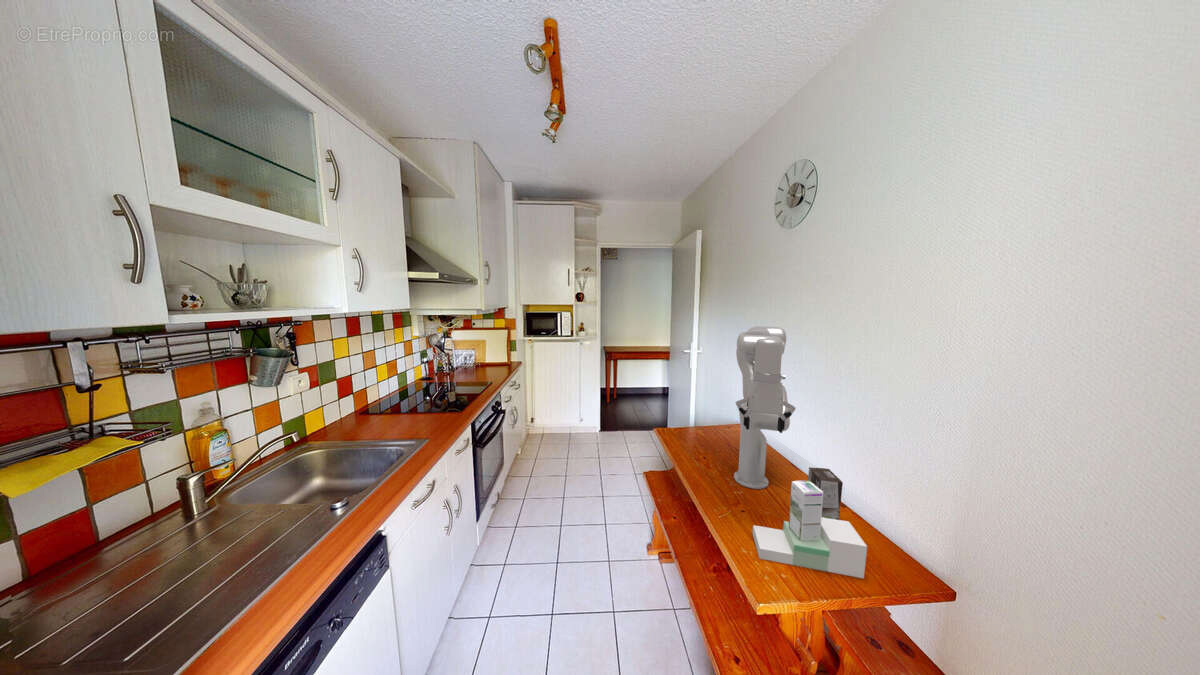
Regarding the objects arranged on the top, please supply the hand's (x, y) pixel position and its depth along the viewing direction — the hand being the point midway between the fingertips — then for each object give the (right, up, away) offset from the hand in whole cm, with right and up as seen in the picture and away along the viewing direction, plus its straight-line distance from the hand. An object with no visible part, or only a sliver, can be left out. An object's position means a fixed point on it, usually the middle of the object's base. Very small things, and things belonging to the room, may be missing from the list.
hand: (763, 429), depth 106 cm
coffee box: (+20, -31, +2) cm, 37 cm away
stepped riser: (+5, -32, -12) cm, 35 cm away
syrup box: (+5, -26, -13) cm, 30 cm away
